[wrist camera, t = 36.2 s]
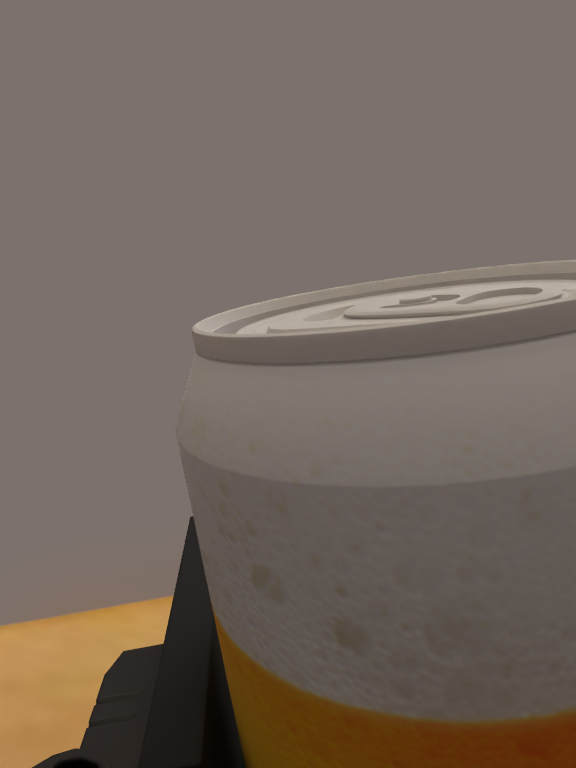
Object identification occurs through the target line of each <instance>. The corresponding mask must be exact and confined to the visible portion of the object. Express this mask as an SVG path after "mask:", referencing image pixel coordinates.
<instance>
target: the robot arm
mask: <svg viewBox="0 0 576 768" xmlns="http://www.w3.org/2000/svg"><path fill="white" fill-rule="evenodd" d="M32 768H242V749H241V744H240V739H239V734H238V729H237V725H236V720H235V715H234V710H233V705H232V700H231V696H230V691H229V686H228V681H227V676H226V672H225V667H224V662H223V657H222V652H221V647H220V643H219V638H218V633H217V628H216V623H215V618H214V614H213V609H212V604H211V599H210V594H209V589H208V585H207V580H206V575H205V570H204V565H203V561H202V556H201V551H200V546H199V541H198V536H197V532H196V527H195V522H194V517H190V521H189V526H188V531H187V536H186V540H185V545H184V550H183V555H182V559H181V564H180V569H179V573H178V578H177V583H176V588H175V592H174V597H173V602H172V607H171V611H170V616H169V621H168V626H167V630H166V635H165V640H164V644H160V645H155V646H149V647H144V648H138V649H133V650H128V651H123V653H122V654H121V655H120V656H119V658H118V659H117V660H116V661H115V663H114V664H113V665H112V666H111V668H110V669H109V670H108V671H107V673H106V674H105V676H104V679H103V682H102V684H101V687H100V690H99V693H98V696H97V699H96V705H95V706H94V708H93V711H92V714H91V717H90V720H89V728H87V729H86V732H85V735H84V738H83V741H82V744H81V747H80V749H72V750H69V751H66V752H62V753H59V754H56V755H53V756H51V757H49V758H47V759H46V760H44V761H42V762H41V763H39V764H37V765H36V766H34V767H32Z"/></svg>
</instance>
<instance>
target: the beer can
mask: <svg viewBox="0 0 576 768" xmlns="http://www.w3.org/2000/svg"><path fill="white" fill-rule="evenodd" d="M192 336H193V341H194V346H195V350H196V351H195V355H194V359H193V363H192V366H191V370H190V374H189V378H188V382H187V386H186V389H185V393H184V397H183V401H182V405H181V409H180V412H179V416H178V420H177V425H176V435H177V440H178V445H179V449H180V454H181V458H182V464H183V469H184V473H185V478H186V483H187V487H188V492H189V498H190V503H191V507H192V512H193V517H194V522H195V527H196V532H197V536H198V541H199V546H200V551H201V556H202V561H203V565H204V570H205V575H206V580H207V585H208V589H209V594H210V599H211V604H212V609H213V614H214V618H215V623H216V628H217V633H218V638H219V643H220V647H221V652H222V657H223V662H224V667H225V672H226V676H227V681H228V686H229V691H230V696H231V700H232V705H233V710H234V715H235V720H236V725H237V729H238V734H239V739H240V744H241V749H242V754H243V758H244V763H245V768H576V260H564V261H549V262H537V263H524V264H512V265H502V266H492V267H483V268H473V269H464V270H456V271H447V272H438V273H431V274H423V275H416V276H408V277H401V278H395V279H387V280H380V281H373V282H367V283H361V284H354V285H348V286H342V287H337V288H330V289H325V290H319V291H314V292H308V293H303V294H298V295H293V296H288V297H283V298H279V299H274V300H269V301H264V302H260V303H255V304H251V305H248V306H243V307H240V308H236V309H232V310H229V311H226V312H222V313H219V314H216V315H213V316H211V317H208V318H206V319H204V320H202V321H200V322H198V323H197V324H195V325H194V326H193V328H192Z"/></svg>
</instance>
